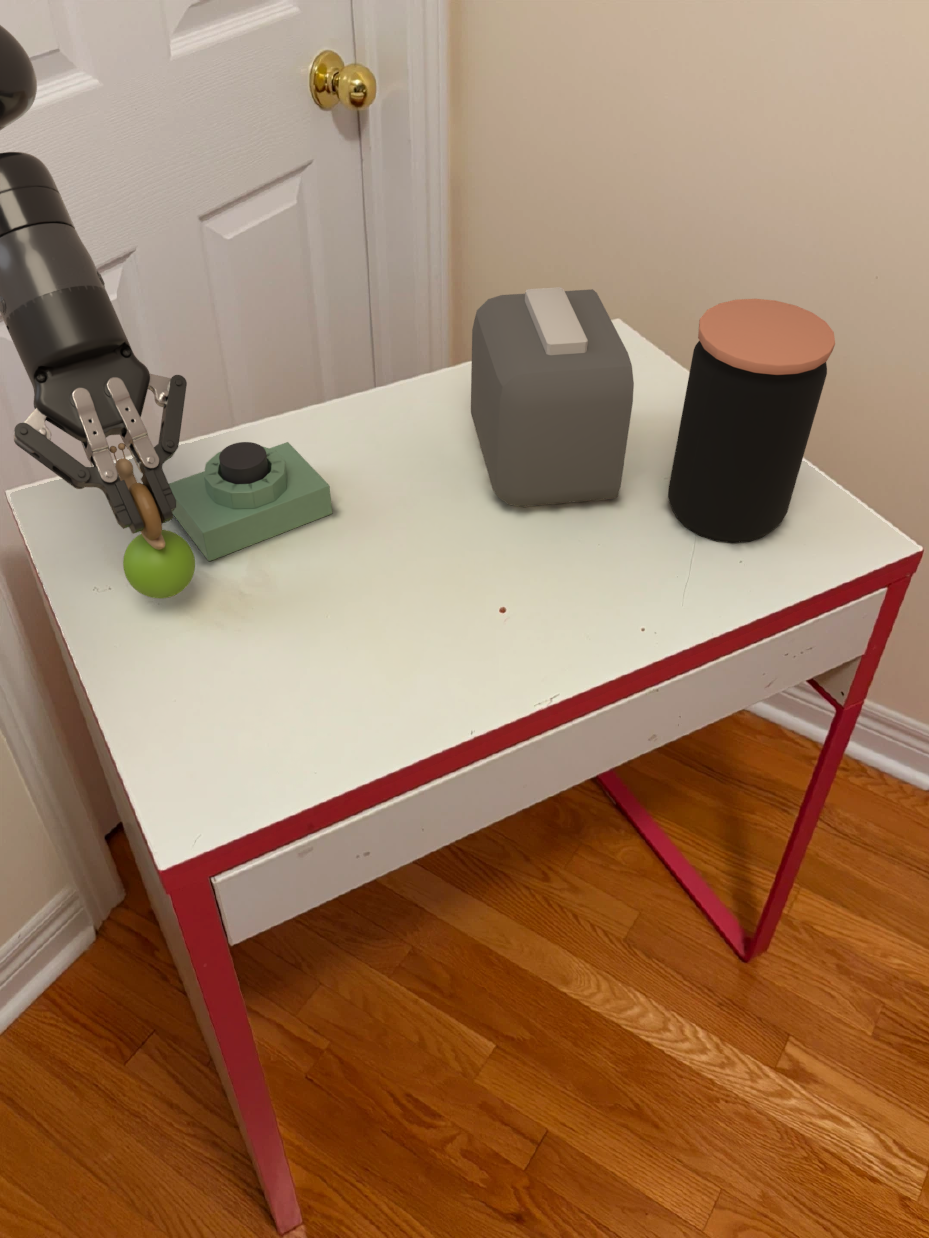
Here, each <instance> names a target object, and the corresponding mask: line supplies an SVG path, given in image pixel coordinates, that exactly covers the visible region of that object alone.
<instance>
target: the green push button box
mask: <svg viewBox="0 0 929 1238" xmlns="http://www.w3.org/2000/svg"><path fill="white" fill-rule="evenodd" d="M261 446H262V447H263V448H264V449H265V451H266V455H267V461H268V468H269V471H268V474H267V475H266V477H264V478H263V479H262V480H259V481H256V482H254V483H251V484H233V483H230V482H227V481H226V480H225V479H224V478H223V476H222V472H221V466H220V461H219V455H220V453H221V451H217V453H216V454H214V455H213V456H212V457H211V458H210V459H209V460H208V461H206V462H205V466H204V470H203V471H200V472H197V473H194V474H192V475H190V476H187V477H183V478H180V479H179V480H175V481H172V482H168V483H169V486H170V488H171V490H172V493H173V495H174V497H175V499H176V508H175V509H174V511H172V514H173V517H175V519H176V520H177V521H178V523H179V524H180V525H181V527H182V528H183V530H184V531H185V532H186V533H187V535H188V536H189V538H190V539H191V540H192V541H193V543H194V544H195V546H196V547H197V548H198V550H199V551H200V552H201V554H202V555H203V557H205V559H206V560H207V562H212V561H214V560H217V559H219V558H222V557H225V556H227V555H230V554H232V553H235V552H237V551H241V550H243V549H245V548H247V547H250V546H253V545H255V544H258V543H260V542H263V541H266V540H268V539H271V538H274V537H276V536H278V535H281V534H284V533H286V532H289V531H291V530H294V529H296V528H299V527H301V526H302V527H303V526H304V525H306V524H310V523H312V522H314V521H317V520H320V519H322V518H325V517H327V516H330V515H332V514H333V507H332V497H331V488H330V484H329V483H328V482H327V481H326V480H325V479H324V478H323V477H322V476H321V475H320V474H319V473H318V472H317V470H315V469H314V467H313V466H312V465H311V464H310V463H309V462H308V461H307V460H306V459H305V458H304V457H303V455H301V454H300V453H299V452H298V451H297V449H296V448H294V446H292V444H291V443H290V442H289V441H287V442H284V443H281V444H278V445H275V446H272V447H267V446H263V445H261Z"/></svg>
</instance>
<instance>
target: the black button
mask: <svg viewBox="0 0 929 1238" xmlns="http://www.w3.org/2000/svg"><path fill="white" fill-rule="evenodd" d="M262 446H263V445H261V444H259V443H257V442H251V441H241V442H239V441H238V442H235V443H232V444H230V445H227V446H225V447H224V448H223V449H222V450H221V451H220V452H221V453H220V455H219V461H220V466H221V472H222V476H223V478H224V479H225V480H226V481H227V482H230V483H233V484H251V483H254V482H256V481H259V480H262V479H263V478H264V477H266V475H267V474H268V471H269V468H268V461H267V455H266V451H265V449H264V448H263V447H264V446H263V447H262Z"/></svg>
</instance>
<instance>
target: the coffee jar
mask: <svg viewBox="0 0 929 1238" xmlns="http://www.w3.org/2000/svg"><path fill="white" fill-rule="evenodd" d="M697 331H698V332H697V333H698V334H697V339H698V342H696V344H695V345H694V348H693V352H692V355H691V356H692V357H691V362H690V368H689V373H688V377H687V383H686V390H685V394H684V400H683V406H682V412H681V417H680V422H679V429H678V433H677V439H676V445H675V450H674V455H673V459H672V460H673V461H672V465H671V472H670V476H669V482H668V490H667V491H668V492H667V499H668V502H669V504H670V507H671V509H672V511H673V513H674V514H675V516H676V518H677V520H678V521H679V522H680V523H681V524H682V525H683V526H684V527H685V528H686V529H688V530H689V531H691V532H693V533H695V534H696V535H698V536H699V537H703V538H706V539H709V540H712V541H715V542H722V543H730V544H737V543H738V544H739V543H749V542H752V541H755V540H758V539H761V538H764V537H765V536H766V535H768V534H770V533H771V532H772V531H773V530H775V529H776V528H777V527H779V526H780V525H781V524H782V523H783V521H784V519H785V518H786V515H787V514H788V512H789V508H790V504H791V501H792V497H793V493H794V490H795V486H796V484H797V480H798V476H799V473H800V469H801V465H802V462H803V459H804V455H805V452H806V449H807V445H808V441H809V438H810V435H811V432H812V427H813V424H814V421H815V417H816V413H817V410H818V407H819V403H820V400H821V396H822V392H823V389H824V387H825V386H824V385H825V382H826V379H827V375H828V365H827V362H828V361H829V358H830V357H831V355H832V353H833V351H834V348H835V346H836V339H835V332H834V330H833V329H832V327H831V326H830V325H829V323H828V322H827V321H826V320H824V319H823V318H821V317H820V316H818V315H817V314H815V313H814V312H813V311H810V310H807V309H805V308H803V307H800V306H798V305H795V304H791V303H787V302H783V301H779V300H774V299H773V300H772V299H764V298H742V299H740V298H739V299H738V298H737V299H732V300H728V301H724V302H720V303H718V304H715V305H714V306H712V307H710V308H708V309H706V311H705V312H704V313H703V314H702V315H701V316H700V318H699V321H698V330H697Z"/></svg>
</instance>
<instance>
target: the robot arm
mask: <svg viewBox="0 0 929 1238" xmlns="http://www.w3.org/2000/svg"><path fill="white" fill-rule="evenodd" d="M37 91H38V82H37V74H36V70H35V68H34V65H33V63H32V60H31V58H30V56H29V54H28V53H27V51H26V50H25V49H24V47H23V46H22V44H21V43H20V42H19V40H17V38H16V37H15V36H14V35H13V34H12V33H10V31H8V29H6V28H5V27H4V26H3V25H1V24H0V131H2V130H3V129H5V128H7V127H8V126H10V125H12V124H13V123H15V122H16V121H18V120H19V119H20V118H22V117H23V116H24V115H26V113H28V111H29V110H30V109H31V107H33V104H34V102H35V100H36V97H37ZM0 316H1V318H2V320H3V323H4V325H5V327H6V329H7V331H8V334H9V336H10V338H11V340H12V341H11V342H12V343H13V345H14V347H15V349H16V352H17V354H18V356H19V358H20V361H21V363H22V366H23V367H24V370H25V372H26V374H27V377H28V379H29V381H30V383H31V385H32V390H33V408H34V410H32V412H31V413H29V414H30V415H28V417H27V418H26V419H25V420H24V421H23V422H19V423H17V424H16V425H15V426H14V430H13V443H14V444H15V445H16V446H17V447H18V448H20V449H21V450H23V451H24V452H25V453H27V454H28V455H29V456H30V457H32V458H33V459H35V460H36V461H37V462H39V463H40V464H42V465H43V466H45V467H46V468H47V469H48V470H50V471H51V472H52V473H54V474H55V475H57V476H58V477H59V478H61V479H62V480H63V481H65V482H66V483H67V484H69V485H70V486H71V487H73V488H74V489H76V490H83V489H85V488H97V489H99V490H101V491H102V492H103V494H104V496H105V498H106V500H107V502H108V504H109V507H110V509H111V511H112V514H113V516H114V518H115V520H116V522H117V525H119V527H121V529H123V530H124V529H128V528H129V530H130V532H131V534H132V535H134V534H137V533H141V532H140V531H142V530H143V529H144V524H143V521H142V519H141V517H140V514H139V512H138V510H137V508H136V505H135V503H134V501H133V498H132V496H131V494H130V492H129V489H128V487H127V485H126V483H125V480H122V481H121V480H120V478H119V475H118V472H117V470H116V467H115V464H116V463H115V462H114V459H113V456H112V453H111V452H110V450H109V448H110V446H109V442H108V439H107V438H108V437H109V436H120V438H121V440H122V443H124V444H125V449H127V450H128V451H129V453H130V455H131V456H132V457H131V458H132V459H133V461H134V463H135V465H136V467H137V469H138V470H139V472H140V473H141V474H142V475H141V477H140V481H141V483H142V484H144V485H145V486H146V487H147V488H148V489H149V491H150V493H151V495H152V497H153V499H154V501H155V503H156V506H157V509H158V511H159V515H160V518H161V523H162V524H164V523H167V522H170V521H171V520H173V518H174V515H173V513H172V511H174V509H175V508H176V499H175V497H174V495H173V493H172V490H171V488H170V486H169V483H170V482H169V481H168V479H167V476H166V475H165V472H164V470H163V465H164V464H165V463H166V462H167V461H168V460H170V459H172V457H174V455H175V453H176V451H177V450H178V449H179V445H180V436H181V430H182V424H183V423H182V422H183V415H184V408H185V399H186V394H187V385H188V382H187V379H186V378H185V376H183V375H181V374H174V375H173V376H172V377H166V376H162V375H158V374H153V373H150V371H149V369H148V367H147V366H146V365H145V364H144V363H143V362H142V361H140V359H138V357H137V356H136V355H135V353H134V351H133V348H132V347H131V345H130V342H129V340H128V337H127V335H126V333H125V330H124V327H123V326H122V324H121V321H120V319H119V316H118V315H117V312H116V310H115V307H114V305H113V303H112V300H111V299H110V296H109V294H108V292H107V289H106V285H105V281H104V278H103V276H102V274H101V273H100V271H98V268H97V266H96V265H95V262H94V260H93V258H92V256H91V254H90V252H89V251H88V249H87V248H86V245H85V244H84V243H83V241H82V239H81V237H80V235H79V234H78V231H77V230H76V227H75V224H74V223H73V220H72V218H71V216H70V213H69V210H68V209H67V206H66V204H65V202H64V200H63V197H62V195H61V193H60V190H59V188H58V186H57V184H56V181H55V179H54V177H53V176H52V174H51V172H50V170H49V169H48V167H47V166H46V164H45V163H44V162H43V161H42V160H41V159H40V158H38V157H37V156H34V155H33V154H31V153H28V152H23V151H5V152H4V151H3V152H0ZM148 390H150V391H151V393H152V394H153V397H154V399H153V400H154V402H155V405H157V406H158V407H160V408H162V413H161V414H162V415H161V422H160V429H159V434H158V443H157V444H156V445H153V443H152V441H151V439H150V437H149V434H148V429H147V427H146V426H145V423H144V422H143V419H142V418H141V417H142V415H143V410H144V407H145V402H146V398H147V395H148ZM46 422H48V423H50V424H51V425H53V426H54V427H56V428H57V429H59V430H61V431H62V432H64V433H65V434H67V435H68V436H70V437H72V438H74V439H75V440H77V441H79V442H80V443H81V446H82V448H83V452H84V453H85V457H86V458H87V460H88V462H89V463H90V466H86V465H84V464H83V463H81V462H80V461H79V460H77V459H76V458H75V457H73V456H72V455H70V454H69V453H68V452H66V451H65V450H64V449H63V448H61V447H60V446H58V444H56V443H54V442H53V441H52V431H51V429H50V428H49V427H48V426H47V424H46Z"/></svg>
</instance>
